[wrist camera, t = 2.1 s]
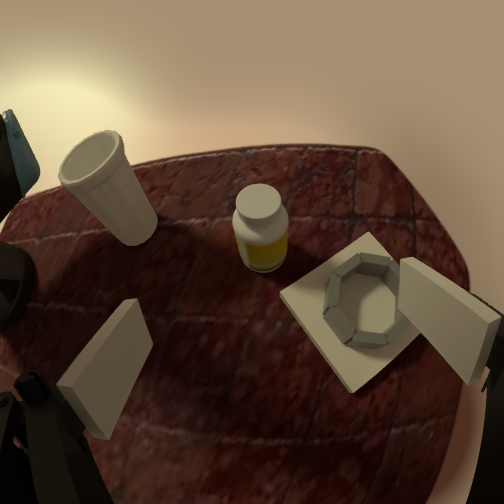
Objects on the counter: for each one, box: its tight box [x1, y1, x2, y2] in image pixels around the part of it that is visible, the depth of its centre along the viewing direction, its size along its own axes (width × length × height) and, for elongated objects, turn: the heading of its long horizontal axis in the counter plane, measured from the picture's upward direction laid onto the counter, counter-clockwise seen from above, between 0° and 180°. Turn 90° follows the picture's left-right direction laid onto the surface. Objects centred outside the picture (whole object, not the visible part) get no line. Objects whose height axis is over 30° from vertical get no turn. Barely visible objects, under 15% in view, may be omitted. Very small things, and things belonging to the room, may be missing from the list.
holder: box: [280, 232, 421, 393], centre depth 26 cm, size 13×13×4 cm
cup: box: [58, 130, 158, 246], centre depth 30 cm, size 8×8×14 cm
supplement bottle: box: [233, 184, 288, 273], centre depth 28 cm, size 5×5×10 cm
